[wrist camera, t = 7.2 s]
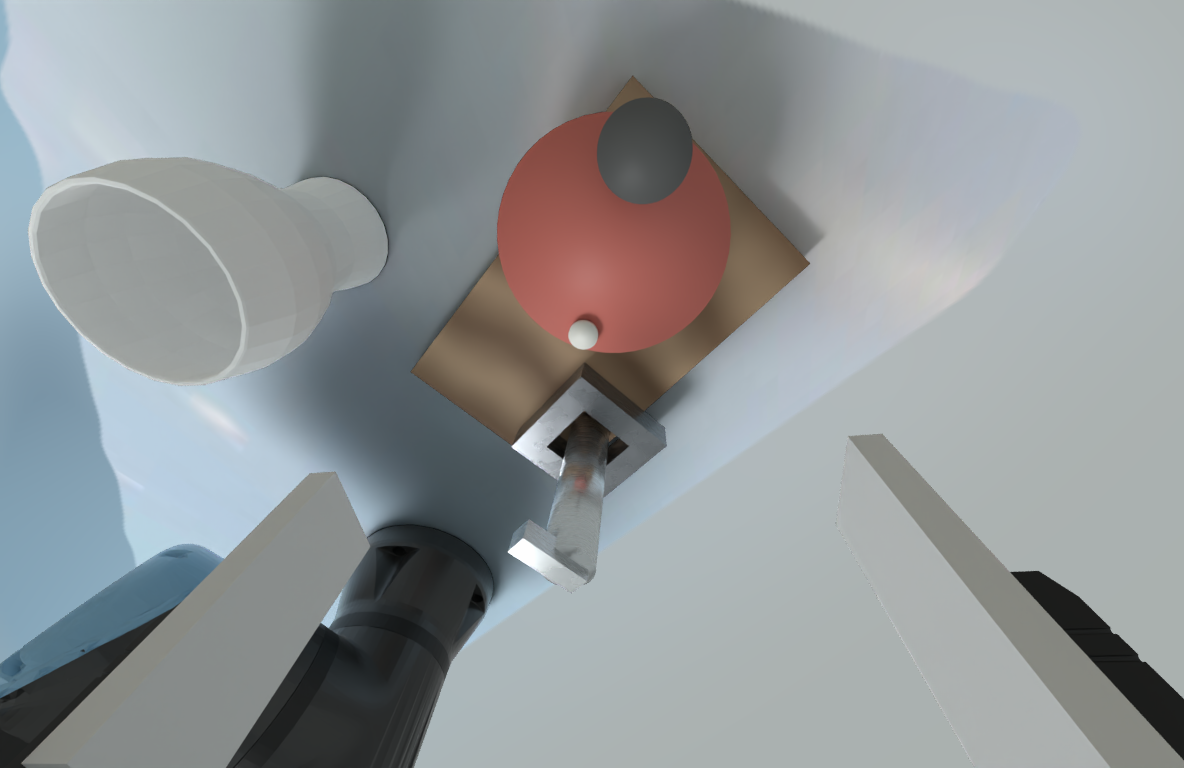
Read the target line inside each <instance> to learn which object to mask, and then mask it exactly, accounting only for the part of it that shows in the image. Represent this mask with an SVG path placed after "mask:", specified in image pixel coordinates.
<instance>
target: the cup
mask: <svg viewBox="0 0 1184 768" xmlns="http://www.w3.org/2000/svg"><path fill="white" fill-rule="evenodd" d="M28 235H29V243H30V250H31V257H32V259H33V262H34V265H35V267H36V270H37V272H38V275H39V277H40V280H41V283H42V285H43V286H44V288H45V289H46V291H47V293H48V294H49V296H50V297H51V299H52V300H53V302H54V304H55V305H56V307H57V308H58V310H59V311H60V312H61V313H62V314H63V316H64V317H65V318H66V319H67V320H68V321H69V322H70V323H71V325H72V326H73V327H74V328H75V329H76V330H77V332H78V333H79V334H80V335H82V336H83V337H84V338H85V339H86V340H87V341H89V342H90V343H91V344H92V345H93V346H94V347H96V348H97V349H98V350H99V351H100V352H102V353H103V354H104V355H106V356H107V357H109V358H111V359H112V360H114V361H115V362H117V363H119V364H120V365H122V366H124V367H125V368H127V369H128V370H131V371H133V372H135V373H138V374H140V375H143V376H145V377H147V378H150V379H152V380H155V381H160V382H164V383H169V384H174V385H178V386H191V385H206V384H210V383H214V382H217V381H221V380H225V379H228V378H232V377H236V376H239V375H243V374H247V373H250V372H253V371H256V370H259V369H262V368H265V367H268V366H269V365H271V364H272V363H274V362H276V361H277V360H279V359H281V358H282V357H284V356H286V355H287V354H289V353H291V352H292V351H293V350H295V349H296V348H297V347H298V346H300V345H301V344H302V343H304V342H305V341H306V340H307V339H308V337H309V336H310V335H311V333H312V332H313V330H314V329H315V327H316V326H317V325H318V323H319V322H320V320H321V319H322V317H323V315H324V314H325V312H326V310H327V309H328V307H329V305H330V301H331V297H332V293H334V292H335V291H340V290H346V289H350V288H354V287H357V286H360V285H363V284H366V283H369V282H370V281H372V280H373V279H374V278H375V277H377V276H378V275H379V273H380V272H381V270H382V269H383V267H384V265H385V262H386V258H387V254H388V239H387V235H386V231H385V227H384V224H383V222H382V220H381V218H380V216H379V214H378V212H377V210H376V209H375V208H374V207H373V205H372V204H371V203H370V202H369V200H368V199H367V198H366V197H365V196H364V195H363V194H361V193H360V192H359V191H358V190H356V189H355V188H354V187H352V186H350V185H348V184H346V183H344V182H342V181H340V180H337V179H333V178H328V177H316V178H309V179H306V180H303V181H300V182H297V183H295V184H293V185H291V186H288V187H286V188H284V189H282V188H276V187H275V186H273V185H271V184H269V183H267V182H265V181H263V180H261V179H259V178H257V177H255V176H253V175H251V174H248V173H245V172H241V171H238V170H235V169H232V168H228V167H225V166H222V165H219V164H215V163H211V162H206V161H201V160H197V159H192V158H188V157H182V158H144V159H132V160H120V161H117V162H114V163H110V164H107V165H104V166H101V167H98V168H95V169H92V170H89V171H86V172H83V173H80V174H77V175H73V176H70V177H68V178H66V179H64V180H62V181H60V182H58V183H56V184H54V185H52V186H50V187H48V188H47V189H46V190H45V191H44V192H43V194H42V195H41V197H40V198H39V199H38V201H37V202H36V204H35V205H34V206H33V208H32V213H31V218H30V223H29V228H28Z"/></svg>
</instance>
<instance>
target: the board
mask: <svg viewBox="0 0 1184 768" xmlns="http://www.w3.org/2000/svg"><path fill="white" fill-rule="evenodd" d="M646 97H650V98H654V97H653V96H652V95H651V94H650V93H649V92H648V91H647V90H646V89H645V88H644V87H643V86H642V85H641V84H640V83H639V82H638V81H637V79H636V78H635V77H634V76H632V77H631V79H630V80H629V81H628V83H627V84H626V85H625V87H624V88H623V89H622V91H621V92H620V93H619V95H618V96H617V97H616V99H615V100H614V101H613V103H612V104H611V105H610V107H609V108H608V109H607V111H606V112H614V111H615V110H616V109H618V108H619V107H620V106H622V105H623V104H625V103H627V102H629V101H631V100H634V99H638V98H646ZM692 143H694V144H695V145H696V146H697V147H698V149H699V150H700V151H701V152H702V153H703V154H704V156H705V157H706V158H707V159H708V161H709V162H710V164H711V166H712V167H713V169H714V170H715V172H716V174H717V176H718V178H719V180H720V182H721V185H722V187H723V190H724V193H725V196H726V200H727V203H728V208H729V215H730V226H731V239H730V249H729V255H728V259H727V264H726V268H725V270H724V273H723V276H722V278H721V281H720V283H719V285H718V287H717V289H716V291H715V293H714V295H713V297H712V298H711V299H710V301H709V302H708V304H707V305H706V307H705V308H704V309H703V310H702V312H701V313H700V314H699V315H698V316H697V317H696V318H695V319H694V320H693V321H692V322H691V323H690V324H689V325H687V326H686V327H685V328H684V329H683V330H681V331H680V332H678V333H677V334H675V335H674V336H672V337H671V338H669V339H667V340H665V341H663V342H661V343H659V344H656V345H653V346H651V347H648V348H645V349H641V350H636V351H631V352H623V353H604V352H596V351H590V350H586V349H585V350H582V349H578V348H576V347H574V346H573V345H571V344H568V343H566V342H564V341H562V340H560V339H558V338H556V337H554V336H553V335H552V334H550V333H549V332H547V331H546V330H544V329H543V328H542V327H541V326H539V325H538V324H537V323H536V322H535V321H534V320H533V319H532V318H531V317H530V316H529V315H528V314H527V313H526V311H525V310H524V309H523V308H522V306H521V305H520V304H519V302H518V301H517V299H516V298H515V296H514V294H513V292H512V290H511V289H510V287H509V285H508V282H507V280H506V277H505V275H504V272H503V269H502V265H501V261H500V257H499V255H498V256H497V257H496V259H495V260H494V261H493V263H492V264H491V265H490V267H489V268H488V269H487V271H486V272H485V273H484V275H483V276H482V277H481V279H480V280H479V281H478V283H477V284H476V285H475V286H474V288H473V289H472V290H471V292H470V293H469V294H468V296H467V297H466V298H465V300H464V301H463V302H462V304H461V305H460V306H459V308H458V309H457V310H456V312H455V313H454V314H453V316H452V317H451V318H450V320H449V321H448V322H447V324H446V325H445V326H444V328H443V329H442V330H441V332H440V333H439V334H438V336H437V337H436V338H435V340H434V341H433V342H432V344H431V345H430V346H429V348H428V349H427V350H426V352H425V353H424V354H423V356H422V357H421V358H420V360H419V361H418V362H417V364H416V365H415V366H414V368H413V369H412V370H411V373H413V374H414V375H415V376H417V377H418V378H420V379H421V380H422V381H424V382H425V383H426V384H428V385H429V386H431V387H432V388H433V389H435V390H436V391H438V392H439V393H440V394H442V395H443V396H444V397H446V398H447V399H449V400H450V401H451V402H453V403H454V404H455V405H457V406H458V407H460V408H461V409H462V410H464V411H465V412H466V413H468V414H469V415H471V416H472V417H473V418H475V419H476V420H478V421H479V422H480V423H482V424H483V425H484V426H486V427H487V428H489V429H490V430H491V431H493V432H494V433H495V434H497V435H498V436H500V437H501V438H502V439H504V440H505V441H507V442H508V443H509V444H511V445H512V444H513V442H514V440H515V437H516V435H517V432H518V430H519V429H520V428H521V427H522V426H523V425H524V424H525V423H526V422H527V421H528V420H529V419H530V418H531V417H532V415H533V414H534V413H535V412H536V411H537V410H538V409H539V408H540V407H541V406H542V405H543V404H544V403H545V402H546V401H547V400H548V399H549V398H550V397H551V396H552V395H553V394H554V393H555V392H556V391H557V390H558V389H559V388H560V387H561V386H562V385H563V384H564V383H565V382H566V381H567V379H568V378H569V377H570V376H571V375H572V374H573V373H574V372H575V371H576V370H577V369H578V368H579V367H580V366H581V365H582V364H583V363H584V362H585V363H586V364H588V365H589V366H590V367H591V368H592V369H594V370H595V371H596V372H597V373H599V374H600V375H601V376H602V377H603V378H605V379H606V380H607V381H608V382H610V383H611V384H612V385H613V386H614V387H616V388H617V389H618V390H619V391H621V392H622V393H623V394H624V395H625V396H627V397H628V398H629V399H630V400H631V401H633V402H634V403H635V404H636V405H638V406H639V407H640V408H641V409H642V410H644V411H645V410H646V409H647V408H648V407H649V406H651V405H652V404H653V403H654V402H655V401H656V400H657V399H658V398H660V397H661V396H662V395H663V394H664V393H665V392H666V391H667V390H669V389H670V388H671V387H672V386H673V385H674V384H675V383H676V382H678V381H679V380H680V379H681V378H682V377H683V376H684V375H685V374H687V373H688V372H689V371H690V370H691V369H692V368H693V367H694V366H696V365H697V364H698V363H699V362H700V361H701V360H702V359H703V358H705V357H706V356H707V355H708V354H709V353H710V352H711V351H712V350H714V349H715V348H716V347H717V346H718V345H719V344H720V343H721V342H723V341H724V340H725V339H726V338H727V337H728V336H729V335H730V334H732V333H733V332H734V331H735V330H736V329H737V328H738V327H739V326H741V325H742V324H743V323H744V322H745V321H746V320H747V319H748V318H750V317H751V316H752V315H753V314H754V313H755V312H756V311H757V310H759V309H760V308H761V307H762V306H763V305H764V304H765V303H766V302H768V301H769V300H770V299H771V298H772V297H773V296H774V295H775V294H777V293H778V292H779V291H780V290H781V289H782V288H783V287H784V286H786V285H787V284H788V283H789V282H790V281H791V280H792V279H793V278H795V277H796V276H797V275H798V274H799V273H800V272H801V271H802V270H804V269H805V268H806V267H807V266H808V265H809V264H810V263H809V262H808V261H807V260H806V259H805V257H804V256H803V255H802V254H801V253H800V252H799V251H798V250H797V249H796V248H795V247H794V246H793V245H792V244H791V243H790V242H789V240H788V239H787V238H786V237H785V236H784V235H783V234H782V233H781V232H780V231H779V230H778V229H777V228H776V227H775V226H774V225H773V224H772V222H771V221H770V220H769V219H768V218H767V217H766V216H765V215H764V214H763V213H762V212H761V211H760V210H759V209H758V208H757V207H756V206H755V204H754V203H753V202H752V201H751V200H750V199H749V198H748V197H747V196H746V195H745V194H744V193H743V192H742V191H741V190H740V189H739V188H738V186H737V185H736V184H735V183H734V182H733V181H732V180H731V179H730V178H729V177H728V176H727V175H726V174H725V173H724V172H723V171H722V170H721V168H720V167H719V166H718V165H717V164H716V163H715V162H714V161H713V160H712V159H711V158H710V157H709V156H708V155H707V154H706V153H705V152H704V150H703V149H702V148H701V147H700V146H699V145H698V144H697V143H696V142H695V141H694V140H693V139H692ZM582 413H586V412H585V411H583V412H582ZM582 413H581V414H582ZM571 425H572V423H571V424H570V425H569V426H568V427H567V428H565V429H564V430H563V431H562V432H561V433H560V434H559V435H560V436H561V437H562V438H564V439H565V440H566V441H568V437H569V433H570V429H571ZM615 437H616V435H615V434H613V433H612V432H611V431H610V433H609V442H610V441H611V440H612V439H613V438H615Z"/></svg>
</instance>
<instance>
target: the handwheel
mask: <svg viewBox="0 0 1184 768" xmlns="http://www.w3.org/2000/svg"><path fill="white" fill-rule="evenodd" d="M730 239H731V226H730V215H729V208H728V203H727V200H726V196H725V193H724V190H723V187H722V185H721V182H720V180H719V178H718V176H717V174H716V172H715V170H714V169H713V167H712V166H711V164H710V162H709V161H708V159H707V158H706V157H705V156H704V154H703V153H702V152H701V151H700V150H699V149H698V147H697V146H696V145H695V144H694V143H692V136H691V132H690V129H689V126H688V124H687V122H686V120H685V119H684V117H683V116H682V114H681V113H680V112H679V111H678V110H677V109H676V108H675V107H674V106H672V105H671V104H669V103H668V102H665V101H663V100H660V99H657V98H650V97H646V98H638V99H634V100H631V101H629V102H627V103H625V104H623V105H622V106H620V107H619V108H618V109H616V110H615V111H614V112H599V113H594V114H589V115H584V116H581V117H579V118H576V119H573V120H570V121H568V122H566V123H564V124H562V125H560V126H558V127H557V128H555V129H553V130H552V131H550V132H549V133H548V134H546V135H545V136H543V137H542V138H541V139H539V140H538V141H537V142H536V143H535V144H534V145H533V146H532V147H531V148H530V149H529V150H528V151H527V153H526V154H525V155H524V157H523V158H522V159H521V161H520V162H519V163H518V164H517V166H516V168H515V170H514V172H513V173H512V175H511V177H510V179H509V181H508V183H507V186H506V188H505V191H504V193H503V197H502V201H501V205H500V209H499V216H498V223H497V242H498V250H499V257H500V261H501V265H502V269H503V272H504V275H505V277H506V280H507V282H508V285H509V287H510V289H511V290H512V292H513V294H514V296H515V298H516V299H517V301H518V302H519V304H520V305H521V306H522V308H523V309H524V310H525V311H526V313H527V314H528V315H529V316H530V317H531V318H532V319H533V320H534V321H535V322H536V323H537V324H538V325H539V326H541V327H542V328H543V329H544V330H546V331H547V332H549V333H550V334H552V335H553V336H554V337H556V338H558V339H560V340H562V341H564V342H566V343H568V344H571V345H573V346H574V347H576V348H578V349H582V350H585V349H586V350H590V351H596V352H604V353H623V352H631V351H636V350H641V349H645V348H648V347H651V346H653V345H656V344H659V343H661V342H663V341H665V340H667V339H669V338H671V337H672V336H674V335H675V334H677V333H678V332H680V331H681V330H683V329H684V328H685V327H686V326H687V325H689V324H690V323H691V322H692V321H693V320H694V319H695V318H696V317H697V316H698V315H699V314H700V313H701V312H702V310H703V309H704V308H705V307H706V305H707V304H708V302H709V301H710V299H711V298H712V297H713V295H714V293H715V291H716V289H717V287H718V285H719V283H720V281H721V278H722V276H723V273H724V270H725V268H726V264H727V259H728V255H729V249H730Z"/></svg>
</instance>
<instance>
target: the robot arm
mask: <svg viewBox="0 0 1184 768" xmlns="http://www.w3.org/2000/svg"><path fill="white" fill-rule="evenodd" d="M836 525H837V528H838V529H839V531H840V533H841V535H842V536H843V538H844V539H845V542H846V543H847V545H848V547H849V548H850V550H851V552H852V553H853V556H854V557H855V559H856V561H857V563H858V564H859V566H860V568H861V570H862V571H863V573H864V575H865V576H866V578H867V580H868V581H869V584H870V585H871V587H872V589H873V591H874V592H875V594H876V596H877V598H878V599H879V601H880V603H881V605H882V606H883V608H884V610H885V612H886V613H887V615H888V617H889V619H890V621H891V622H892V624H893V626H894V628H895V629H896V631H897V633H898V634H899V636H900V638H901V640H902V642H903V643H904V645H905V647H906V648H907V650H908V652H909V654H910V655H911V657H912V659H913V661H914V663H915V664H916V666H917V668H918V670H919V671H920V673H921V675H922V677H923V678H924V680H925V682H926V684H927V685H928V687H929V689H930V691H931V692H932V694H933V696H934V698H935V699H936V701H937V703H938V705H939V706H940V708H941V710H942V712H943V713H944V715H945V717H946V718H947V720H948V722H949V724H950V726H951V728H952V729H953V731H954V733H955V734H956V736H957V738H958V740H959V741H960V743H961V745H962V747H963V749H964V750H965V752H966V754H967V756H968V757H969V759H970V761H971V762H972V764H973V766H974V768H1184V699H1183V698H1182V697H1181V696H1180V695H1179V694H1178V693H1177V692H1176V691H1175V690H1174V689H1173V688H1172V687H1171V686H1170V685H1169V684H1168V683H1167V682H1166V681H1165V680H1164V679H1163V678H1162V677H1161V676H1160V675H1159V674H1158V673H1156V671H1154V669H1152V668H1151V667H1150V666H1149V665H1148V664H1147V663H1146V662H1142V661H1141V660H1140V659H1139V657H1138V654H1137V653H1136V652H1135V651H1134V650H1133V649H1132V648H1131V647H1130V646H1129V645H1128V644H1127V643H1126V642H1125V641H1124V640H1123V639H1121V637H1120V636H1119V635H1117V634H1113V633H1112V632H1111V630H1110V627H1109V626H1108V625H1107V624H1106V623H1105V622H1104V621H1103V620H1102V619H1101V618H1100V617H1099V616H1098V615H1097V614H1096V613H1095V612H1094V611H1093V610H1092V609H1091V608H1090V607H1089V606H1088V605H1087V604H1086V603H1085V602H1084V601H1083V600H1082V599H1081V598H1080V597H1078V596H1077V595H1075V594H1074V593H1072V592H1070V591H1069V590H1067V589H1066V588H1064V587H1063V586H1061V585H1060V584H1058V583H1056V582H1055V581H1053V580H1052V579H1050V578H1049V577H1047V576H1046V575H1044V574H1042V573H1041V572H1039V571H1026V572H1009V571H1008V570H1007V568H1005V566H1004V565H1003V564H1002V563H1001V562H1000V561H999V560H998V559H997V558H996V557H995V555H993V553H992V552H991V551H990V550H989V549H988V548H987V547H986V546H985V545H984V544H983V543H982V541H981V540H980V539H979V538H978V537H977V536H976V535H975V534H974V533H973V532H972V531H971V530H970V528H969V527H968V526H967V525H966V524H965V523H964V522H963V521H962V520H961V519H960V518H959V517H958V515H957V514H956V513H955V512H954V511H953V510H952V509H951V508H950V507H949V506H948V505H947V504H946V502H945V501H944V500H943V499H942V498H941V497H940V496H939V495H938V494H937V493H936V492H935V491H934V489H933V488H932V487H931V486H930V485H929V484H928V483H927V482H926V481H925V480H924V479H923V478H922V476H921V475H920V474H919V473H918V472H917V471H916V470H915V469H914V468H913V467H912V466H911V465H910V463H909V462H908V461H907V460H906V459H905V458H904V457H903V456H902V455H901V454H900V453H899V452H898V451H897V449H896V448H895V447H894V446H893V445H892V444H891V443H890V442H889V441H888V440H887V439H886V438H885V436H884V435H883V434H873V435H860V436H848V439H847V446H846V453H845V460H844V467H843V475H842V482H841V489H840V496H839V504H838V511H837V518H836ZM342 589H343V590H342ZM341 591H342V594H341V598H340V602H339V605H338V609H337V613H336V616H335V619H334V621H333V623H332V624H331V626H330V627H329V628H327V627H326V626H324V625H323V624H322V623H321V621H322V620H323V618H324V617H325V615H326V614H327V612H328V611H329V609H330V608H331V606H332V605H333V603H334V602H335V600H336V598H337V597H338V595H339V594H340V592H341ZM492 594H493V579H492V575H491V572H490V570H489V568H488V566H487V565H486V563H485V562H484V560H483V559H482V558H481V557H480V556H479V555H478V554H477V553H476V552H475V551H474V550H473V549H472V548H471V547H469V546H468V545H467V544H465V543H464V542H462V541H461V540H459V539H457V538H455V537H453V536H451V535H449V534H447V533H444V532H442V531H439V530H436V529H432V528H428V527H423V526H414V525H400V526H393V527H388V528H385V529H382V530H380V531H377V532H376V533H374V534H372V535H371V536H370V537H368V538H366V536H365V534H364V532H363V529H362V527H361V525H360V523H359V521H358V519H357V517H356V514H355V512H354V510H353V508H352V506H351V504H350V501H349V499H348V497H347V495H346V493H345V491H344V489H343V486H342V484H341V482H340V480H339V478H338V476H337V473H336V472H323V473H310V474H309V475H308V476H307V477H306V478H305V479H304V480H303V481H302V482H301V483H300V484H299V485H298V486H297V487H296V488H295V489H294V490H293V491H292V492H291V493H290V494H289V495H288V496H287V497H286V498H285V499H284V500H283V501H282V502H281V503H280V504H279V505H278V506H277V507H276V508H275V509H274V510H273V511H272V512H271V513H270V514H269V515H268V516H267V517H266V518H265V519H264V520H263V521H262V522H261V523H260V524H259V525H258V526H257V527H256V528H255V529H254V530H253V531H252V532H251V533H250V534H249V535H248V536H247V537H246V538H245V539H244V540H243V541H242V542H241V543H240V544H239V545H238V546H237V547H236V548H235V549H234V550H233V551H232V552H231V553H230V554H229V555H228V556H227V557H226V558H225V559H224V558H222V557H220V556H218V555H217V554H215V553H213V552H212V551H210V550H208V549H207V548H205V547H202V546H200V545H195V544H182V545H177V546H174V547H171V548H169V549H166V550H164V551H162V552H160V553H159V554H157V555H155V556H154V557H152V558H150V559H149V560H147V561H146V562H144V563H143V564H141V565H139V566H138V567H136V568H135V569H133V570H132V571H130V572H129V573H127V574H126V575H124V576H123V577H121V578H120V579H118V580H117V581H115V582H114V583H112V584H111V585H109V586H108V587H107V588H105V589H104V590H102V591H101V592H99V593H98V594H96V595H95V596H93V597H92V598H91V599H89V600H88V601H86V602H85V603H84V604H82V605H80V606H79V607H77V608H76V609H75V610H73V611H72V612H70V613H69V614H68V615H66V616H65V617H63V618H62V619H60V620H59V621H58V622H56V623H55V624H54V625H52V626H51V627H49V628H48V629H46V630H45V631H44V632H42V633H41V634H40V635H38V636H37V637H35V638H34V639H33V640H31V641H30V642H28V643H27V644H26V645H24V646H23V648H21V649H20V650H18V651H17V652H15V653H14V654H12V655H11V656H10V657H9V658H7V659H6V660H5V661H3V662H2V663H1V664H0V768H414V766H415V763H416V760H417V757H418V754H419V751H420V749H421V746H422V743H423V740H424V737H425V734H426V731H427V729H428V726H429V723H430V720H431V717H432V714H433V712H434V708H435V706H436V703H437V700H438V697H439V695H440V692H441V689H442V686H443V683H444V680H445V678H446V675H447V672H448V669H449V667H450V664H451V662H452V661H453V659H454V658H455V657H456V655H457V654H458V652H459V651H460V650H461V648H462V647H463V646H464V644H465V643H466V642H467V640H468V639H469V638H470V636H471V635H472V633H473V632H474V631H475V629H476V628H477V627H478V625H479V624H480V623H481V621H482V620H483V618H484V616H485V614H486V612H487V609H488V606H489V603H490V600H491V597H492Z"/></svg>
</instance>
